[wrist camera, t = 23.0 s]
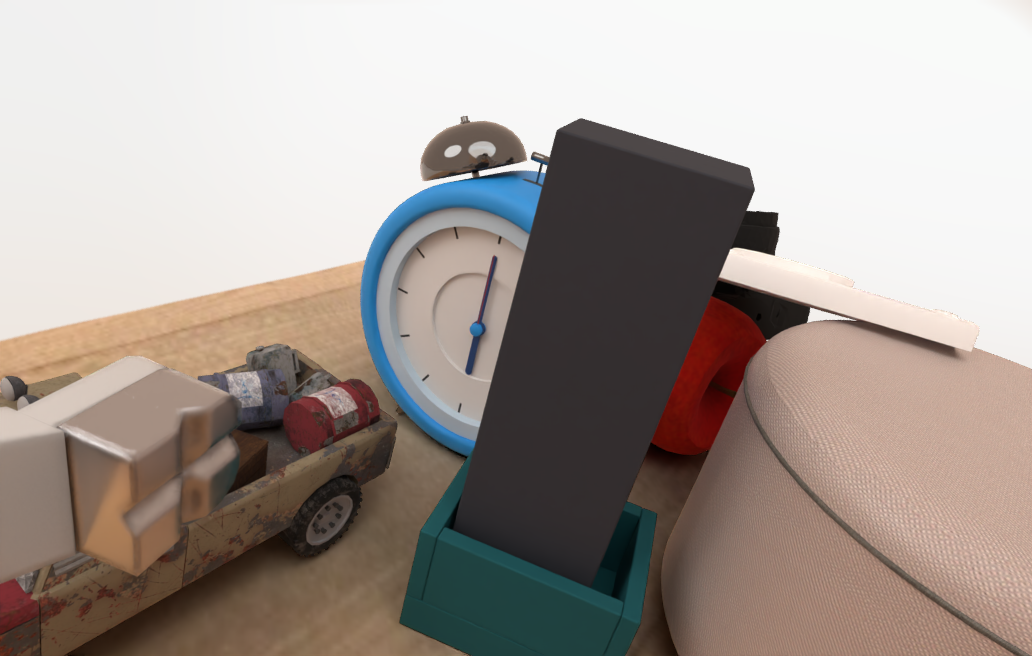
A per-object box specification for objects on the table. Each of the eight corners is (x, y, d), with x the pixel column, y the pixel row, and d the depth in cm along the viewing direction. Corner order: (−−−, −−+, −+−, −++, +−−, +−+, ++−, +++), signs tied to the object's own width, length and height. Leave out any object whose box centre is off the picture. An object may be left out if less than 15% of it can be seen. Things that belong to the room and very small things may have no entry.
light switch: (837, 283, 43) (996, 302, 24) (826, 313, 44) (974, 354, 25) (682, 238, 45) (717, 223, 26) (672, 267, 45) (700, 273, 26)
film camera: (694, 208, 40) (599, 198, 47) (675, 359, 42) (587, 328, 50) (833, 215, 49) (734, 206, 56) (811, 341, 51) (718, 316, 58)
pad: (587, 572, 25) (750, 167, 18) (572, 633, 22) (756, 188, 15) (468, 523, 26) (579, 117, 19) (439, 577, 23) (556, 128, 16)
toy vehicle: (-328, 688, 16) (-461, 447, 13) (285, 426, 30) (299, 278, 27) (-255, 920, 13) (-404, 685, 10) (389, 510, 27) (419, 354, 24)
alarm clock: (340, 392, 34) (381, 99, 27) (413, 354, 39) (462, 99, 32) (557, 521, 29) (669, 205, 23) (608, 458, 34) (711, 186, 28)
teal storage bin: (621, 594, 26) (657, 512, 25) (598, 713, 22) (640, 624, 20) (455, 525, 28) (477, 441, 26) (398, 623, 23) (419, 530, 21)
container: (766, 469, 37) (863, 283, 32) (1159, 734, 26) (1400, 523, 21) (554, 620, 24) (657, 355, 19) (1139, 1228, 14) (1706, 1012, 9)
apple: (663, 302, 44) (808, 365, 36) (591, 407, 44) (722, 495, 36) (600, 229, 38) (759, 287, 30) (515, 351, 38) (654, 442, 30)
